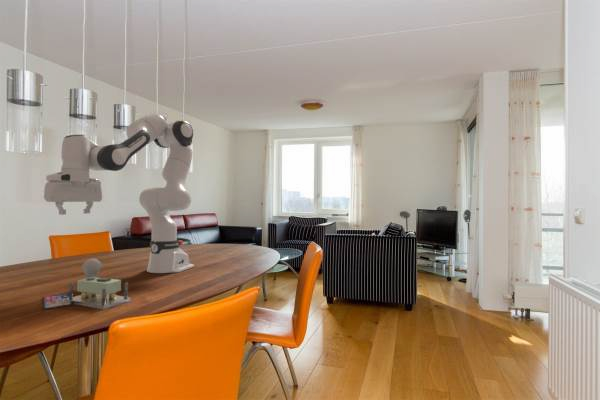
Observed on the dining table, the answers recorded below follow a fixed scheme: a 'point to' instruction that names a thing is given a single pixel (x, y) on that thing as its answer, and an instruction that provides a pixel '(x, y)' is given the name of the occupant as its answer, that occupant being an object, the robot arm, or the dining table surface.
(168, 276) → the dining table surface
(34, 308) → the dining table surface
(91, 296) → the chassis
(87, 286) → the green block with holes
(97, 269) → the lightbulb
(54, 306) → the smartphone
